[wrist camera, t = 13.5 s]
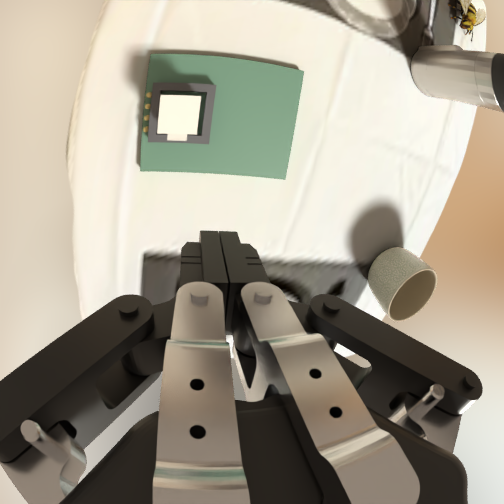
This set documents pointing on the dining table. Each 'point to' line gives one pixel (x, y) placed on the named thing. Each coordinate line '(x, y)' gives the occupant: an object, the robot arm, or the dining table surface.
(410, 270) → the planter
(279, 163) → the board
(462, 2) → the insect
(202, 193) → the dining table surface
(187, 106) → the plug
